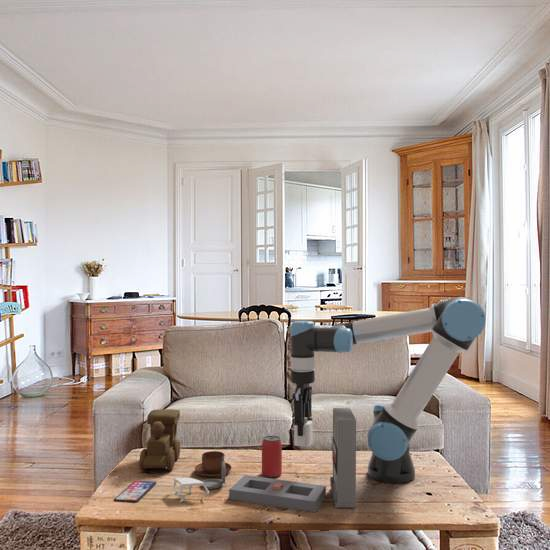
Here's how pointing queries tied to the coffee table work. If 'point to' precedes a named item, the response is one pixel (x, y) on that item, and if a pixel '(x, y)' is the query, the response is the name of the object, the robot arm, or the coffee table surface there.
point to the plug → (308, 433)
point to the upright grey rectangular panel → (344, 458)
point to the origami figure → (190, 483)
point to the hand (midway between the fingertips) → (303, 443)
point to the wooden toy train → (161, 440)
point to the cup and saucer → (211, 464)
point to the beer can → (271, 456)
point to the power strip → (278, 493)
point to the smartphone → (135, 491)
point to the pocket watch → (216, 482)
